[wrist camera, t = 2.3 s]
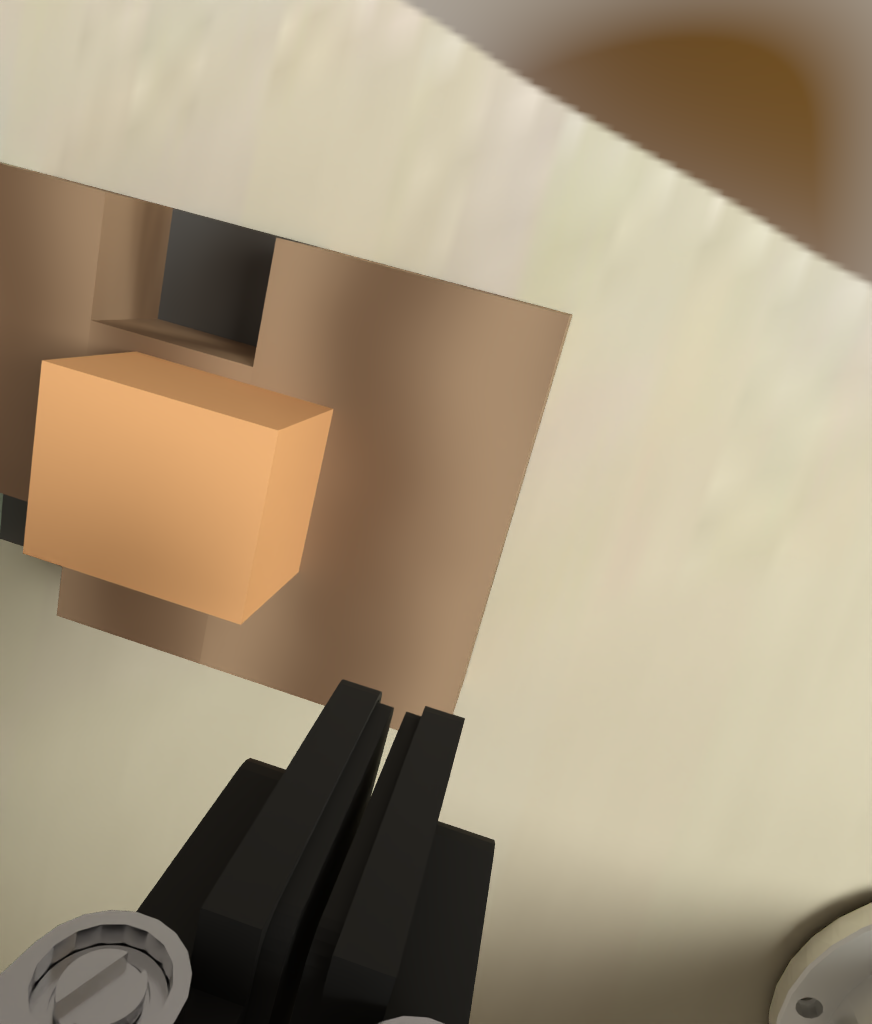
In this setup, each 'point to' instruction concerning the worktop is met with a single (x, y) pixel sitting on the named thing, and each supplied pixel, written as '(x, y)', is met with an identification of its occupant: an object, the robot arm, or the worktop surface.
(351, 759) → the robot arm
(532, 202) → the worktop surface
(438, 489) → the board
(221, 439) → the orange block
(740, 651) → the worktop surface
